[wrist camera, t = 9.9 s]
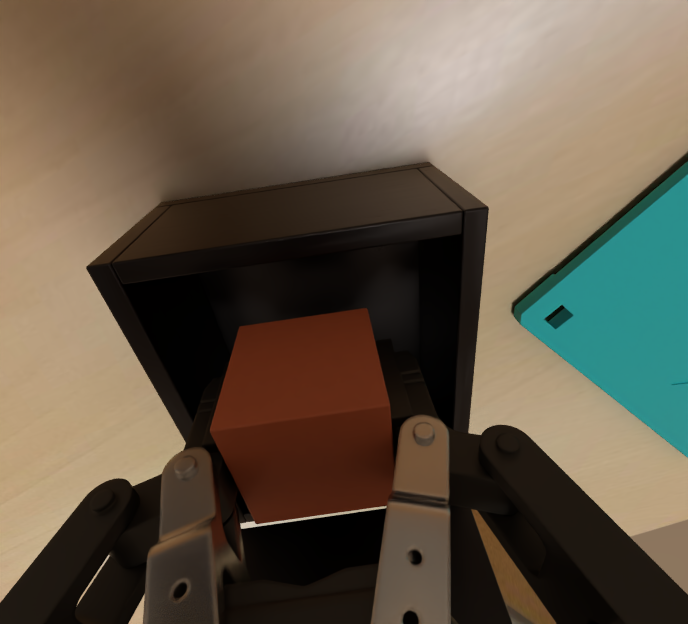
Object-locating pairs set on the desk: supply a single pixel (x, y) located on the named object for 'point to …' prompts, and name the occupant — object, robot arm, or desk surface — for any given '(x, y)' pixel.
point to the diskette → (628, 311)
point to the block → (306, 417)
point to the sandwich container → (512, 581)
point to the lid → (373, 557)
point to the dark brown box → (303, 277)
